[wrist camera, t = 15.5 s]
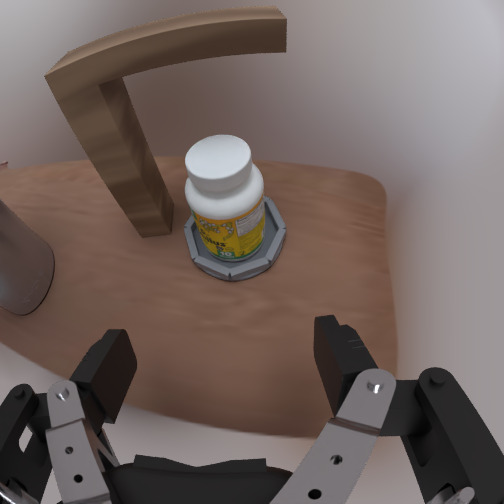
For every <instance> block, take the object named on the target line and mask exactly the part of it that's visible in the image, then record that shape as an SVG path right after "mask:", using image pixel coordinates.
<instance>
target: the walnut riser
mask: <svg viewBox="0 0 504 504" xmlns="http://www.w3.org/2000/svg"><path fill="white" fill-rule="evenodd" d="M286 27H287V19H286V17H285V16H284V15H283V14H282V13H281V12H280V11H279V10H278V8H277V7H276V6H254V7H239V8H227V9H218V10H211V11H203V12H197V13H191V14H185V15H180V16H176V17H171V18H166V19H162V20H158V21H154V22H150V23H146V24H143V25H139V26H136V27H132V28H129V29H126V30H123V31H120V32H117V33H114V34H111V35H108V36H106V37H103V38H100V39H98V40H95V41H92V42H90V43H88V44H85V45H83V46H81V47H78V48H76V49H74V50H72V51H69V52H68V53H67V54H66V55H65V56H64V57H63V58H62V59H61V60H60V61H58V62H57V63H56V65H55V66H53V68H51V70H50V71H49V72H48V73H47V74H46V75H45V76H44V77H45V79H46V81H47V83H48V85H49V87H50V89H51V91H52V93H53V95H54V97H55V99H56V101H57V102H58V104H59V106H60V108H61V110H62V112H63V114H64V115H65V117H66V119H67V121H68V123H69V125H70V126H71V128H72V130H73V132H74V133H75V135H76V137H77V138H78V140H79V142H80V144H81V145H82V147H83V149H84V150H85V152H86V154H87V155H88V157H89V159H90V160H91V162H92V164H93V165H94V167H95V168H96V170H97V172H98V173H99V175H100V176H101V178H102V179H103V181H104V183H105V184H106V186H107V187H108V189H109V190H110V192H111V193H112V195H113V196H114V198H115V199H116V201H117V202H118V204H119V205H120V207H121V208H122V210H123V211H124V213H125V214H126V215H127V217H128V218H129V220H130V221H131V223H132V224H133V225H134V227H135V228H136V230H137V231H138V233H139V234H140V235H141V237H150V236H158V235H166V234H171V229H172V216H173V202H172V199H171V197H170V195H169V193H168V190H167V188H166V186H165V184H164V181H163V179H162V177H161V174H160V172H159V170H158V167H157V165H156V163H155V160H154V158H153V155H152V153H151V151H150V148H149V146H148V143H147V141H146V139H145V136H144V133H143V131H142V129H141V126H140V123H139V121H138V118H137V116H136V113H135V111H134V108H133V105H132V103H131V100H130V97H129V95H128V92H127V89H126V87H125V84H124V81H123V78H122V77H124V76H127V75H131V74H134V73H138V72H142V71H146V70H149V69H153V68H158V67H162V66H167V65H172V64H177V63H182V62H187V61H193V60H199V59H206V58H213V57H221V56H230V55H241V54H255V53H278V52H279V53H280V52H286V32H287V29H286Z"/></svg>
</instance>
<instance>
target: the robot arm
mask: <svg viewBox="0 0 504 504" xmlns="http://www.w3.org/2000/svg"><path fill="white" fill-rule="evenodd" d="M53 270H54V258H53V253H52V250H51V248H50V247H49V245H48V244H47V243H46V242H44V241H43V240H42V239H41V238H40V237H39V236H38V235H37V234H35V233H34V232H33V231H32V230H31V229H30V228H29V227H28V226H27V225H26V224H25V223H24V222H23V221H22V220H21V219H20V218H19V217H18V216H17V215H16V214H15V213H14V212H13V211H12V210H11V209H10V208H9V207H8V206H7V205H6V204H5V203H4V202H3V201H2V200H1V199H0V306H1V307H3V308H5V309H7V310H9V311H11V312H13V313H15V314H18V315H25V314H27V313H30V312H31V311H33V310H34V309H35V308H36V307H37V306H38V305H39V304H40V303H41V301H42V300H43V298H44V296H45V295H46V293H47V290H48V288H49V286H50V283H51V280H52V275H53ZM314 357H315V362H316V364H317V367H318V370H319V373H320V376H321V379H322V382H323V385H324V388H325V391H326V394H327V397H328V400H329V403H330V406H331V409H332V412H333V415H334V418H331V419H330V420H329V421H328V422H327V424H326V425H325V427H324V429H323V430H322V432H321V434H320V435H319V437H318V438H317V440H316V441H315V443H314V445H313V446H312V447H311V449H310V451H309V452H308V453H307V455H306V456H305V458H304V459H303V461H302V462H301V463H300V465H299V466H298V468H297V469H296V470H295V472H294V473H292V472H290V471H287V470H284V469H280V468H275V467H268V466H266V459H265V458H263V459H248V460H230V461H226V462H221V463H217V464H211V465H206V466H201V467H194V466H190V465H186V464H183V463H179V462H176V461H173V460H169V459H166V458H159V457H150V456H143V455H136V456H135V459H134V463H128V464H123V465H120V464H119V462H118V460H117V458H116V456H115V454H114V452H113V449H112V447H111V445H110V443H109V440H108V438H107V436H106V433H105V431H104V429H103V428H102V425H103V423H104V422H105V423H111V424H114V423H115V421H116V418H117V415H118V413H119V411H120V408H121V406H122V403H123V401H124V398H125V396H126V393H127V391H128V389H129V386H130V384H131V381H132V379H133V377H134V374H135V372H136V369H137V359H136V356H135V353H134V351H133V348H132V345H131V342H130V339H129V337H128V334H127V332H126V330H124V329H109V330H107V332H106V333H105V334H104V336H103V337H102V339H101V340H99V341H97V342H96V343H95V344H94V345H92V346H91V347H90V349H89V350H88V352H87V353H86V355H85V356H84V358H83V359H82V361H81V362H80V364H79V365H78V367H77V368H76V370H75V371H74V373H73V374H72V376H71V377H70V379H69V380H63V381H59V382H57V383H55V384H54V385H52V386H51V387H50V388H49V390H48V392H47V393H40V394H35V392H34V391H33V389H32V388H31V386H30V385H28V384H20V385H17V386H15V387H14V388H13V389H12V390H11V391H10V392H9V394H8V395H7V397H6V398H5V400H4V401H3V403H2V404H1V406H0V504H40V503H41V500H42V497H43V494H44V490H45V488H46V484H47V482H48V479H49V476H50V473H51V470H52V468H53V470H54V474H55V478H56V481H57V485H58V488H59V491H60V494H61V498H62V501H60V502H59V503H57V504H345V502H346V501H347V499H348V497H349V496H350V494H351V492H352V490H353V488H354V486H355V485H356V483H357V481H358V479H359V477H360V475H361V473H362V471H363V469H364V467H365V465H366V462H367V460H368V458H369V456H370V454H371V452H372V449H373V447H374V444H375V443H376V440H377V438H378V436H400V437H401V440H402V442H403V444H404V447H405V449H406V452H407V455H408V457H409V460H410V463H411V465H412V468H413V471H414V473H415V476H416V479H417V482H418V484H419V487H420V490H421V493H422V496H423V499H424V502H425V504H504V455H503V454H502V452H501V450H500V448H499V446H498V445H497V443H496V441H495V440H494V438H493V436H492V435H491V433H490V431H489V429H488V428H487V426H486V425H485V423H484V422H483V420H482V418H481V417H480V415H479V414H478V412H477V410H476V409H475V407H474V406H473V404H472V403H471V401H470V400H469V398H468V397H467V395H466V394H465V392H464V391H463V390H462V388H461V387H460V385H459V384H458V382H457V381H456V380H455V378H454V377H453V375H452V374H451V373H450V372H448V371H447V370H445V369H442V368H437V367H434V368H428V369H426V370H424V371H423V372H422V373H421V374H420V376H419V379H418V380H395V378H394V376H393V375H392V374H391V373H389V372H388V371H385V370H382V369H379V368H378V367H377V365H376V363H375V361H374V360H373V358H372V356H371V355H370V353H369V351H368V350H367V348H366V346H364V343H363V342H362V340H361V338H360V337H359V335H358V333H357V332H356V330H354V329H353V328H351V327H350V326H348V325H341V326H340V325H339V323H338V321H337V320H336V318H335V316H334V315H327V316H319V317H315V322H314ZM26 426H27V427H28V428H29V429H30V431H31V432H32V433H33V434H32V436H31V439H30V441H29V443H28V445H27V447H26V449H25V451H24V453H23V452H22V451H21V449H20V447H19V439H20V437H21V435H22V433H23V431H24V429H25V427H26Z"/></svg>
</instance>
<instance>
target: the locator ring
mask: <svg viewBox="0 0 504 504" xmlns="http://www.w3.org/2000/svg"><path fill="white" fill-rule="evenodd" d="M264 208H265V238H264V241H263V244H262V246H261V247H260V249H259V250H258V251H257V252H256V253H255V254H254V255H253V256H251V257H249V258H248V259H246V260H242V261H237V262H231V261H224V260H220V259H218V258H216V257H214V256H213V255H212V254H211V253H210V252H209V251H208V250H207V249H206V247H205V245H204V243H203V240H202V238H201V235H200V233H199V230H198V228H197V225H196V222H195V220H194V218H193V215H191V216H190V218H189V219H188V221H187V222H186V224H185V225H184V227H185V228H184V232H185V235H186V239H187V243H188V246H189V250H190V253H191V257H192V260H193V262H194V263H195V264H196V266H197V267H200V268H201V269H202V270H203V271H205V272H206V273H207V274H209V275H211V276H213V277H216V278H218V279H222V280H228V281H240V280H246V279H249V278H252V277H255V276H257V275H259V274H261V273H262V272H264V271H265V270H267V269H268V268H269V267H270V266H272V264H273V263H274V262H275V260H276V259H277V257H278V255H279V254H280V251H281V249H282V244H283V240H284V238H285V236H286V225H285V224H284V222H283V220H282V218H281V216H280V214H279V212H278V210H277V208H276V206H275V204H274V202H273V200H270V198H269V197H266V196H264Z"/></svg>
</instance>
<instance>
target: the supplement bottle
mask: <svg viewBox="0 0 504 504" xmlns="http://www.w3.org/2000/svg"><path fill="white" fill-rule="evenodd" d="M185 165H186V169H187V172H188V179H187V181H186V185H185V195H186V199H187V202H188V205H189V208H190V210H191V212H192V215H193V218H194V220H195V222H196V225H197V228H198V230H199V233H200V235H201V238H202V240H203V243H204V245H205V247H206V249H207V250H208V251H209V252H210V253H211V254H212V255H213V256H214V257H216V258H218V259H220V260H224V261H231V262H237V261H242V260H246V259H248V258H249V257H251V256H253V255H254V254H255V253H256V252H257V251H258V250H259V249H260V247H261V246H262V244H263V241H264V238H265V208H264V183H263V178H262V175H261V173H260V171H259V170H258V168H257V167H256V166H255V165H254V164H253V163H252V160H251V151H250V148H249V146H248V145H247V144H246V142H245V141H243V140H242V139H240V138H238V137H235V136H231V135H215V136H211V137H208V138H205V139H203V140H201V141H199V142H197V143H196V144H195V145H193V146H192V147H191V148H190V150H189V151H188V153H187V155H186V158H185Z"/></svg>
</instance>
